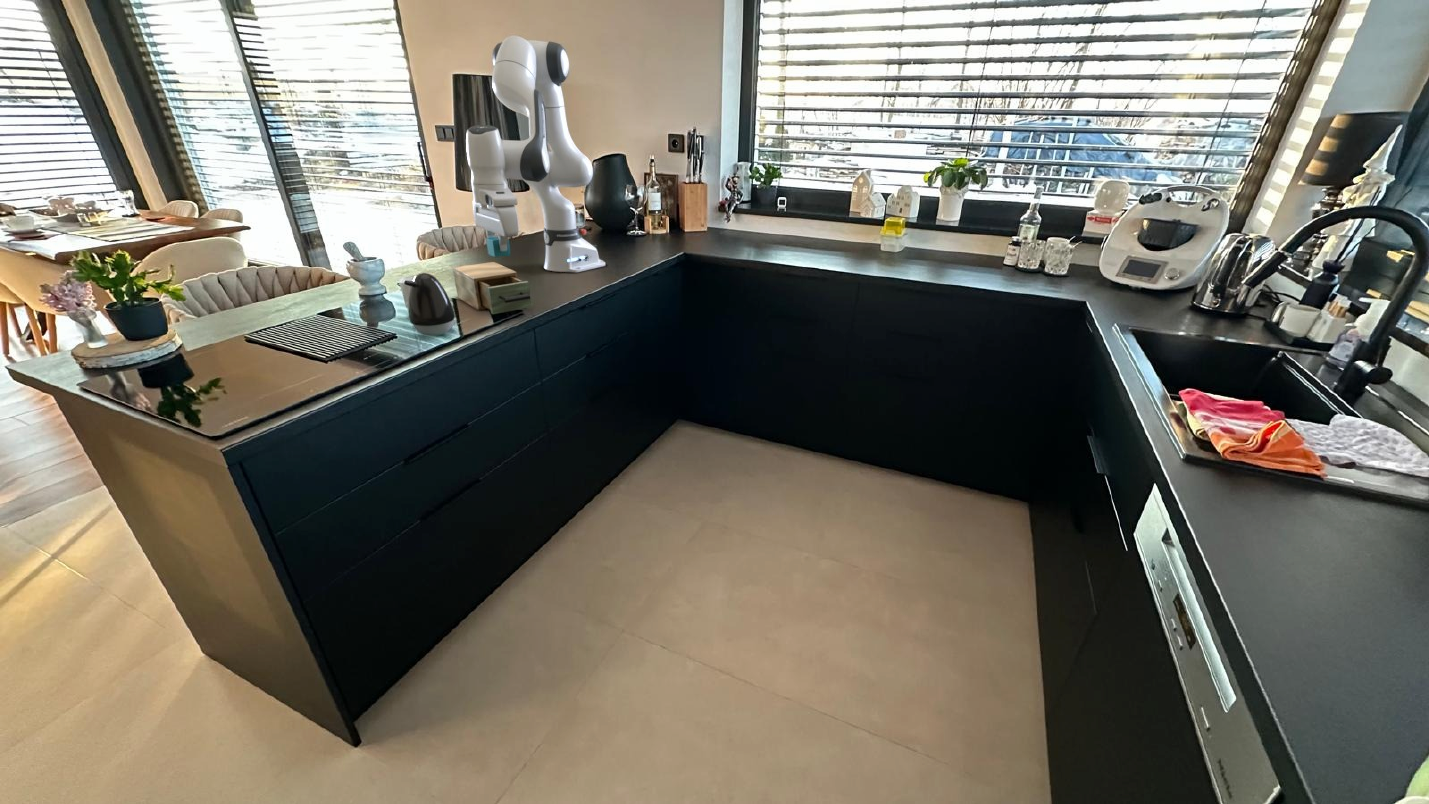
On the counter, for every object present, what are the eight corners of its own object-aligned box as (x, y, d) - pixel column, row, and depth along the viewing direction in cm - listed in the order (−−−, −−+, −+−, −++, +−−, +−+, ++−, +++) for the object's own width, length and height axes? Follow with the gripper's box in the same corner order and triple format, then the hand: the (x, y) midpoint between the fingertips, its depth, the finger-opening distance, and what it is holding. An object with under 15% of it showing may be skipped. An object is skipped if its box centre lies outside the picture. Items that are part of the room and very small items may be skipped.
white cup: (432, 309, 157) (425, 274, 152) (443, 316, 152) (436, 280, 147) (402, 315, 152) (394, 279, 147) (413, 322, 147) (404, 285, 142)
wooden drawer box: (520, 302, 165) (516, 272, 161) (478, 310, 158) (473, 278, 154) (498, 290, 175) (494, 261, 171) (457, 297, 168) (452, 267, 164)
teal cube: (503, 252, 154) (501, 236, 152) (510, 255, 151) (508, 238, 150) (488, 254, 152) (485, 237, 150) (494, 257, 149) (492, 240, 147)
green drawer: (539, 311, 156) (536, 285, 153) (500, 318, 149) (496, 292, 146) (509, 295, 169) (506, 271, 165) (471, 301, 162) (467, 276, 158)
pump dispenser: (403, 334, 139) (389, 274, 132) (439, 323, 147) (427, 265, 140) (430, 342, 135) (418, 280, 128) (466, 330, 143) (455, 271, 136)
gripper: (463, 191, 149) (471, 243, 156) (495, 200, 136) (503, 257, 142) (486, 190, 153) (493, 241, 159) (520, 198, 140) (526, 254, 146)
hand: (498, 248), depth 151 cm, fingers closed on teal cube, 4 cm apart
